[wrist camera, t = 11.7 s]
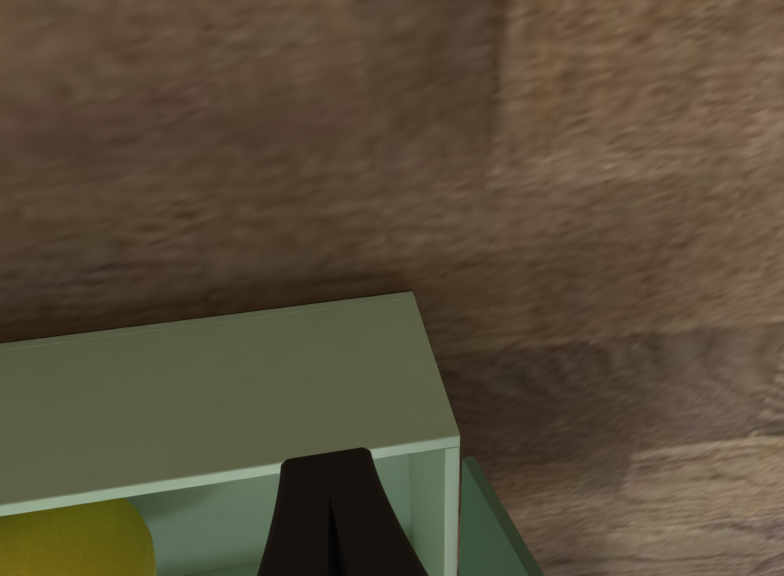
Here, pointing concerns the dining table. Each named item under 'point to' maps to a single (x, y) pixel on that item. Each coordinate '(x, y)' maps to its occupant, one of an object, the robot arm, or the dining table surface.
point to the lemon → (77, 541)
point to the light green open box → (231, 424)
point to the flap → (489, 531)
